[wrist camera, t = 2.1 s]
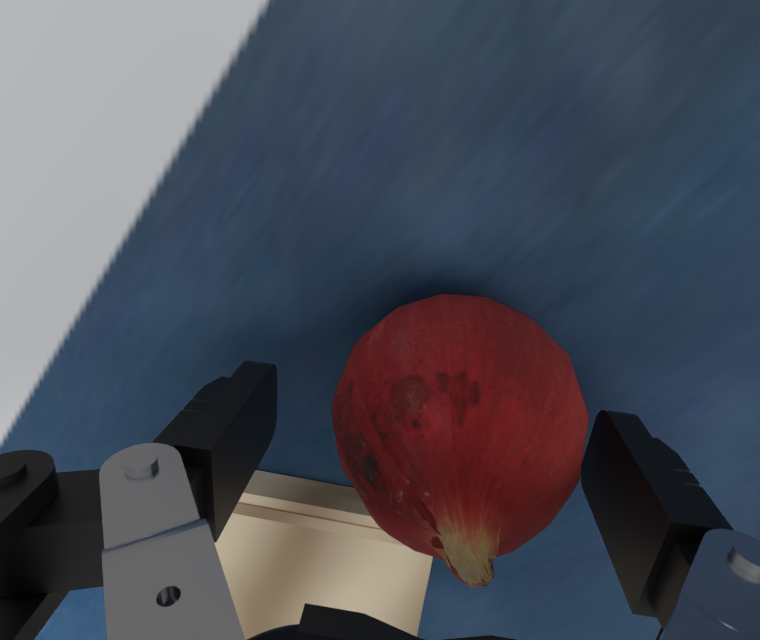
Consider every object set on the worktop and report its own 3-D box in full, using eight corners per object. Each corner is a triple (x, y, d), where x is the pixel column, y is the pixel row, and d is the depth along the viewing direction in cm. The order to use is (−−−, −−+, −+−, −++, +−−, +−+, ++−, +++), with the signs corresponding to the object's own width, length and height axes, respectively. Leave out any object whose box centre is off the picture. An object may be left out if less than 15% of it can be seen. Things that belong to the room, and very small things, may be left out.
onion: (338, 391, 16) (243, 615, 9) (399, 231, 14) (342, 346, 6) (499, 453, 16) (544, 730, 9) (586, 304, 14) (748, 504, 6)
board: (439, 503, 17) (439, 530, 16) (392, 733, 22) (390, 766, 21) (149, 450, 18) (128, 472, 17) (170, 683, 23) (156, 713, 22)
